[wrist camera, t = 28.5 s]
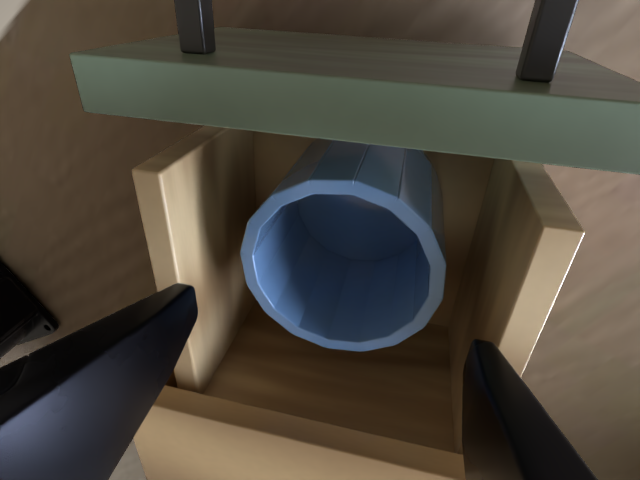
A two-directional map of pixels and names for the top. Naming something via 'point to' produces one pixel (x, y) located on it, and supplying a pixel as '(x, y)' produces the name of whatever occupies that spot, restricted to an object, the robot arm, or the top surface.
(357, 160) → the cup
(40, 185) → the top surface
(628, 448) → the top surface
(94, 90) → the drawer
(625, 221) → the top surface
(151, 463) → the cabinet
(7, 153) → the top surface
